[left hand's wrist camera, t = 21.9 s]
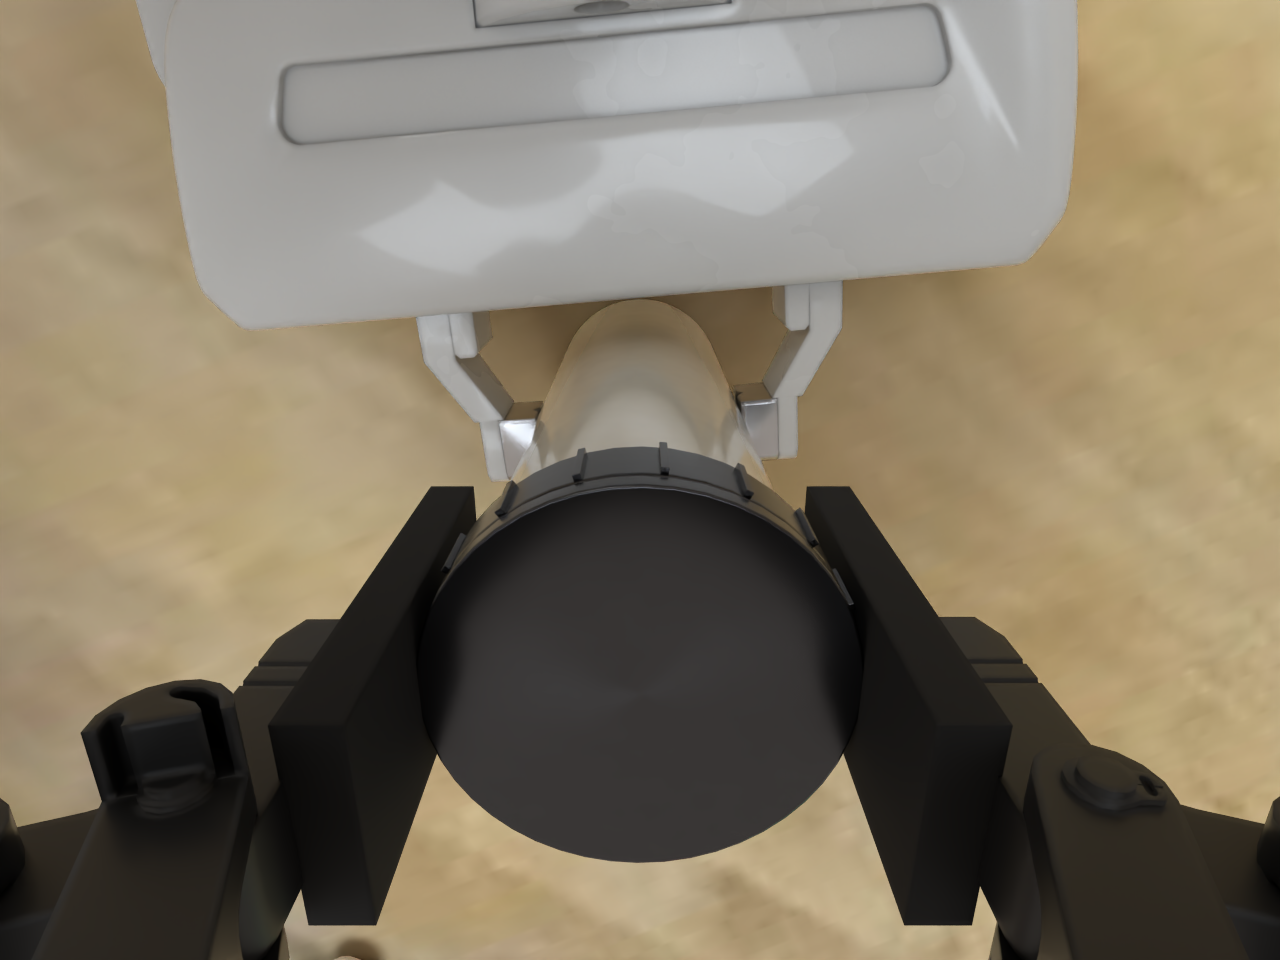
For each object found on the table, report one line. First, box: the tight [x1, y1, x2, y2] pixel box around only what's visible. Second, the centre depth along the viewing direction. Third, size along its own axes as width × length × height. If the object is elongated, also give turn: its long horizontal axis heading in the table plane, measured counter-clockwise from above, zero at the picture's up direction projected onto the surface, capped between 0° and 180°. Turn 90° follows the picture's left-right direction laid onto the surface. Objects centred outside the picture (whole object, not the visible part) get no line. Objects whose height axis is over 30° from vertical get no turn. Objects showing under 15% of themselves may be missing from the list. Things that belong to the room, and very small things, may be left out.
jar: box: [510, 299, 774, 491], centre depth 19 cm, size 5×5×17 cm
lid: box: [416, 442, 864, 863], centre depth 11 cm, size 6×6×2 cm
